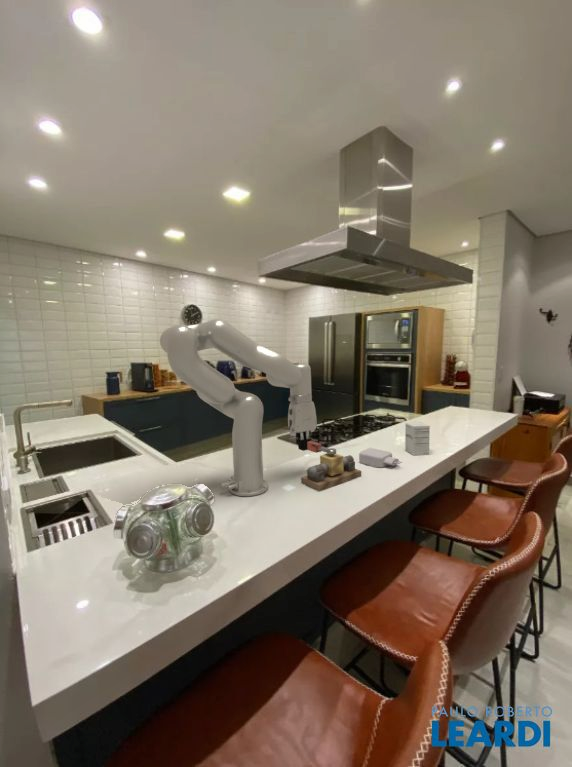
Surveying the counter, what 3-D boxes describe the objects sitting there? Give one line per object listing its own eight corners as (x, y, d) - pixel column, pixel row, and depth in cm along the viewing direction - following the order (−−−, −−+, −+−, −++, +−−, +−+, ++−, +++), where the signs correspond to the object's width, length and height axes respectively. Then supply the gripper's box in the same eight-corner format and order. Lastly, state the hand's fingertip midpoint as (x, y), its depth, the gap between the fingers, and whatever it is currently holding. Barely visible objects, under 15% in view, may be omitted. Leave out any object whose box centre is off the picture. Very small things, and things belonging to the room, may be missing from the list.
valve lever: (338, 456, 112) (338, 448, 112) (331, 458, 110) (331, 450, 110) (312, 447, 123) (311, 440, 122) (305, 449, 121) (305, 442, 120)
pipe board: (319, 491, 103) (318, 462, 102) (301, 483, 110) (300, 456, 110) (361, 476, 115) (361, 450, 114) (342, 469, 122) (342, 445, 122)
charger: (394, 472, 118) (359, 463, 129) (406, 466, 125) (371, 458, 135) (394, 460, 118) (359, 452, 129) (406, 454, 124) (371, 447, 135)
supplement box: (404, 450, 144) (404, 422, 142) (420, 449, 144) (421, 421, 143) (413, 455, 136) (413, 426, 135) (429, 454, 137) (430, 425, 136)
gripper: (290, 402, 108) (293, 456, 110) (323, 397, 117) (325, 447, 119) (277, 400, 114) (280, 451, 116) (310, 395, 123) (311, 443, 125)
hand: (303, 449), depth 117 cm, fingers closed
